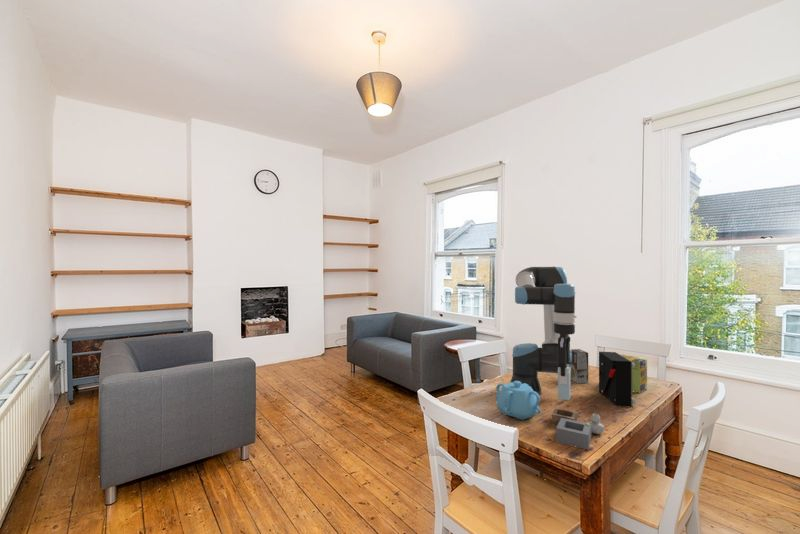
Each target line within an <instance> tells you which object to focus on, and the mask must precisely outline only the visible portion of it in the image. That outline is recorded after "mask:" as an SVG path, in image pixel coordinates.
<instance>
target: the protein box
mask: <svg viewBox="0 0 800 534" xmlns="http://www.w3.org/2000/svg"><path fill="white" fill-rule="evenodd" d="M618 354H619V355H622V356H623V357H625V358H626V359H628V360H630V361H631V362H633V363H634V364H635V367H634V368H632V391H634V392H633V393H636V392H639V393H638V394H642V393H643V392H645V391H646V390H648V358H645V357H641V356H639V357H638V356H632V355H627V354H621V353H618ZM645 389H646V390H645ZM644 390H645V391H644ZM642 391H643V392H642ZM641 392H642V393H641Z"/></svg>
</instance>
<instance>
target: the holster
mask: <svg viewBox="0 0 800 534" xmlns="http://www.w3.org/2000/svg"><path fill="white" fill-rule="evenodd" d="M561 418H565V419H569V420H574V421H578V412H577V411H576V410H575V411H574V410H569V409H565V408H559V407H554V409H553V412H552V413H551V426H552V425H553V426H556V427H557V425H558V423H559V421H560V419H561Z"/></svg>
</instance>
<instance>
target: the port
mask: <svg viewBox="0 0 800 534" xmlns="http://www.w3.org/2000/svg"><path fill="white" fill-rule="evenodd" d="M555 430H556V432H555V433H556V435H555V437H556V439H555V440H556V443H559V444H563V445H568V446H571V447H574V446H576V447H575V448H578V447H580V448H579V449H582V448H584V449H583V450H586V449H590V446H589V445H591V441H592V432H591V424H589V423H588V422H583V421H578V420H577V421H574V420H569V419H565V418H561V419H560V421H559V423H558V425H557V426H556V429H555Z"/></svg>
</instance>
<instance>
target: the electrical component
mask: <svg viewBox="0 0 800 534" xmlns="http://www.w3.org/2000/svg"><path fill="white" fill-rule="evenodd" d="M619 354H620V353H619V352H616V351H615V352H614V351H598V393H599V394H601V396H605V397H606V398H607V399H608V400H609V401H610V402H611V403H612V404H613V405H614V406H615V407H625V406H629V408H631V407H633V405H635V404H636V400H635V398H633V392H632V368H634V367H635V364H634V363H633V362H631V361H630V360H628V359H626V358H625V357H623V356H622V355H623V354H622V355H619Z"/></svg>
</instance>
